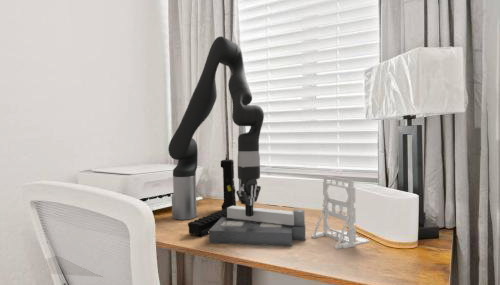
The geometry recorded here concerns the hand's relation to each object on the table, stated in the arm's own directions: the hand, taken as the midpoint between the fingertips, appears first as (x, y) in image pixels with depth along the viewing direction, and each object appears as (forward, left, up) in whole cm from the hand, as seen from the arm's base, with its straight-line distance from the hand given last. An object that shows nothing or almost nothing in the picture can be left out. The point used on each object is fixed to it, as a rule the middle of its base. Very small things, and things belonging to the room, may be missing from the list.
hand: (249, 215), depth 112 cm
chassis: (+4, -1, -6) cm, 8 cm away
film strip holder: (+30, -1, -7) cm, 30 cm away
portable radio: (-14, +32, -7) cm, 35 cm away
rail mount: (-15, +6, -7) cm, 18 cm away
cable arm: (+5, +2, -2) cm, 6 cm away
